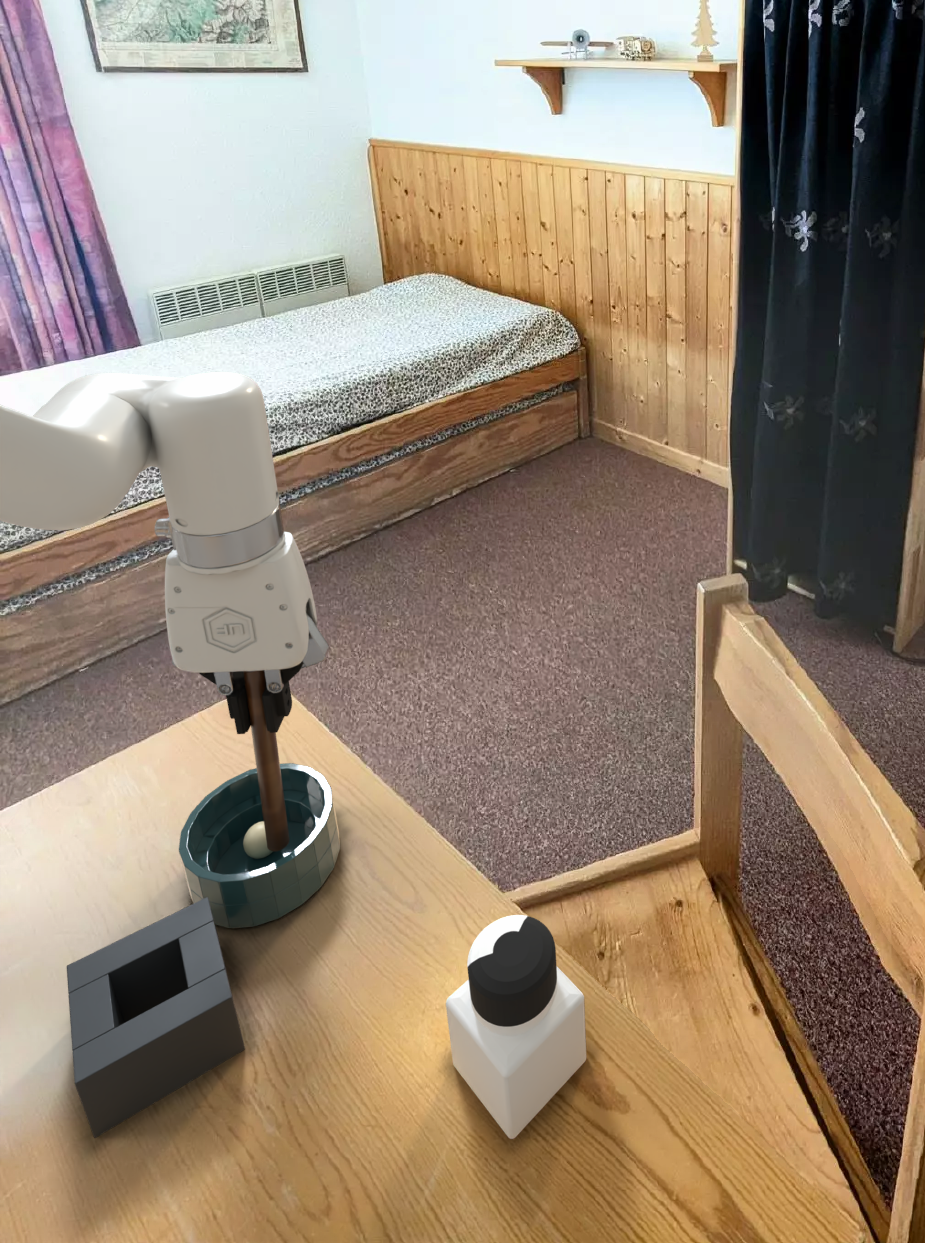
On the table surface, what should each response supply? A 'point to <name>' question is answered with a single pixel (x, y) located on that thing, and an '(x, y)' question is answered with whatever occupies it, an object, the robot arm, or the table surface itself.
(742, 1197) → the table surface
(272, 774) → the spurtle
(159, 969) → the holder
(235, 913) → the bowl
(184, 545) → the robot arm
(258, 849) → the beige egg
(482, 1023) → the medicine bottle
